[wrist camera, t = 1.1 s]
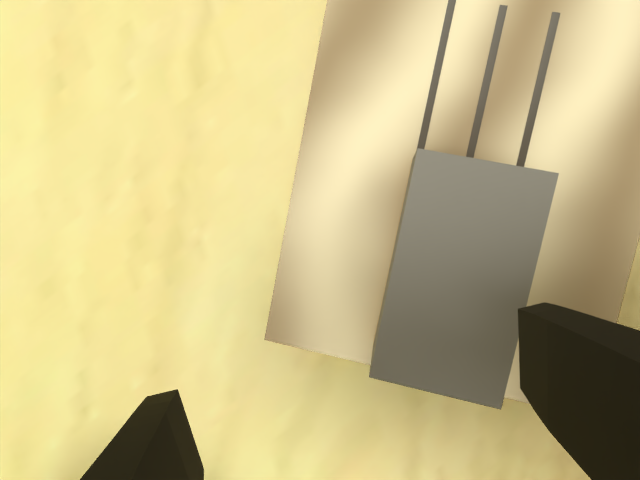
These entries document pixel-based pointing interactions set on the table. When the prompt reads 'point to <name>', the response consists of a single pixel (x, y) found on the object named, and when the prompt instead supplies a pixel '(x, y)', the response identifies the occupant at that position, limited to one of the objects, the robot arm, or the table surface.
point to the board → (460, 150)
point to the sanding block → (460, 275)
